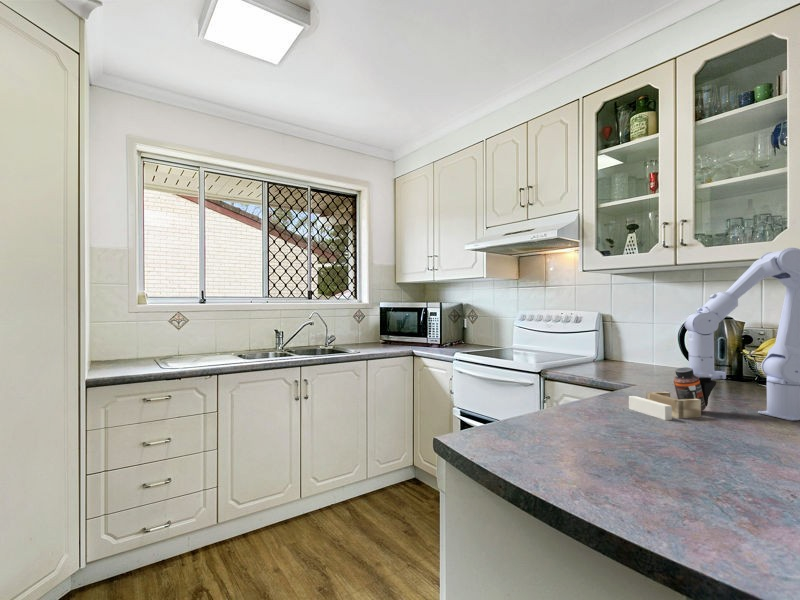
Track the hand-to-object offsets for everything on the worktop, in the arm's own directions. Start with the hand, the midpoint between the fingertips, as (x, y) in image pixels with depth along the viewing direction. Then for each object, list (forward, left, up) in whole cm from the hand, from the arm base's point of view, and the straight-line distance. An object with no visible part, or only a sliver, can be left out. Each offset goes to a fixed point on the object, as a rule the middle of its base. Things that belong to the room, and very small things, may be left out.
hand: (701, 405), depth 113 cm
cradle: (+10, 0, -2) cm, 10 cm away
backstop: (+17, 0, -2) cm, 17 cm away
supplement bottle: (+3, 0, -1) cm, 3 cm away
